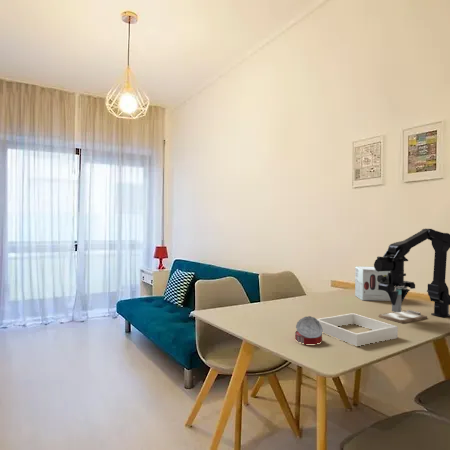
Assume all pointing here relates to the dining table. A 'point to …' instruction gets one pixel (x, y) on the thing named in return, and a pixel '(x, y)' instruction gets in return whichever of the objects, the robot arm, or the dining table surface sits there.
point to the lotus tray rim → (378, 332)
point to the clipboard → (403, 316)
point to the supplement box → (369, 284)
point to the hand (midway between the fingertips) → (396, 304)
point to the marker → (397, 302)
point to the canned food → (308, 331)
